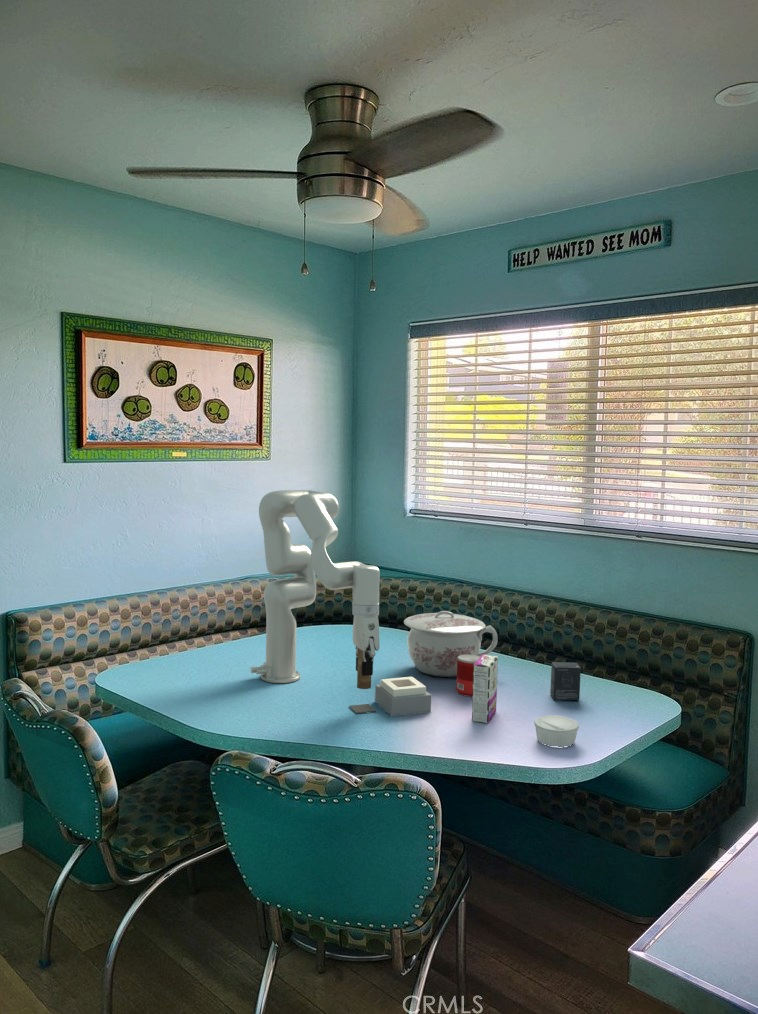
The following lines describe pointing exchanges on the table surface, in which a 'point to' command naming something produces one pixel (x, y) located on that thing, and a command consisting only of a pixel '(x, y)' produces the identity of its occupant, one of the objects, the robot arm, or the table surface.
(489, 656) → the candy bar box
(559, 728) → the ramekin
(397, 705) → the grey white square holder
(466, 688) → the canned food
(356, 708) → the coaster
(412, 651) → the chamber pot
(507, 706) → the table surface
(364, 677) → the brown rounded cylinder
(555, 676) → the box
